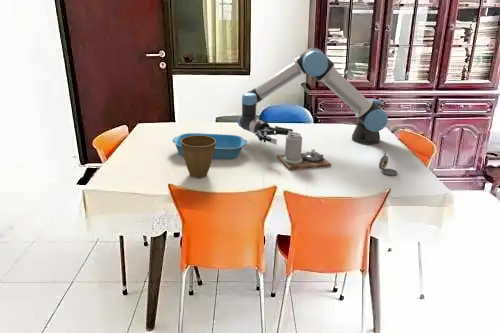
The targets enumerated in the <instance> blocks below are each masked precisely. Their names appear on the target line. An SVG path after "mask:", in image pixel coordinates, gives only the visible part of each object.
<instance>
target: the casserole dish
mask: <svg viewBox="0 0 500 333" xmlns="http://www.w3.org/2000/svg"><path fill="white" fill-rule="evenodd" d="M194 135H203V136H209V137H212V138H214V139H215V140H216V144H215V150H214V155H213V159H212V160H234V159H236V158H238V157H239V155H240V154H241V151H242V148H243V147H244V146H246V145H248V140H247V139H245V138H244V137H242V136H240V135H235V134H221V133H219V134H218V133H201V132H200V133H199V132H198V133H197V132H192V133H191V132H190V133H189V132H188V133H182V134H180V135H178V136H175V137H173V138H172V143H174V145H175V148H176V150H177V153H178V154H179V155H180V156H181V157H183V158H184V156H183V152H182V146H181V139H182V138H184V137H187V136H194Z"/></svg>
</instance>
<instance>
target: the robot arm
mask: <svg viewBox="0 0 500 333" xmlns="http://www.w3.org/2000/svg"><path fill="white" fill-rule="evenodd" d="M306 74H308V75H309V76H311V77H312V78H314V80H315V81H317V82H322V83H323V84H325V86H327V87H328V89H330V90H331V91H332V92H333V93H334V94H335V95H336V96H337V97H338V98H339V99H340V100H341V101H342V102H344V104H346V105H347V106H348V107H349V108H350V109H351V110H352V111H353V112H354V113H355V115H354V116H355V118H356V119H357V120H356V126H355V128H354V129H353V132H352V134H351V140H352V141H353V142H354V143H358V144H362V145H363V144H364V145H375V144H376V145H377V144H379V143H380V141H381V136H380V131H382V130H384V129H385V127H386V126H387V125H388V121H389V120H388V119H389V118H388V114H387V113H386V111H385V110H384V109H383V108H382V105H383V104H382V103H383V102H382V100H381V99H377V98H376V99H375V98H366V97H365V96H364V95H363V94H362V93H361V92H360V91H359V90H358V89H356V87H355V86H354V85H352V84H351V82H349V81H348V79H346V78H345V77H344V76H343V75H342V74H341V73H340V72H339V71H338V70H337V69H336V68H335V63H334V62H333V61H332V60H331V59H330V58H329V57H328V56H327V55H325V53H324V52H323V51H322V50H321V49H319V48H317V47H310V48H309V49H306V50H305V51H304V52H302V53H301V54H300V55H299V56H297V57H295V58H294V61H293V62H291V64H289V65H287V66H286V67H284V68H283V69H281V70H280V71H279V72H277V73H275V74H274V75H272V76H271V77H269V78H268V79H267V80H265V81H264V82H261V84H259V85H258V86H256V87H254V88H253V89H251V90H248V91H247V92H245V93H243V94H242V97H241V115H240V116H239V117H238V119H237V125H238V126H239V127H240V128H241V129H243V130H244V131H248V132H250V133H252V134H254V136H256V137H257V138H258V140H259V141H260V142H262V141H263V143H266V142H268V143H270V144H273V145H274V146H276V145H277V144H278V138H275V137H273V135H274V136H277V135H281V136H288V133H295V132H294V130H293V129H292V128H286V127H281V126H277V125H275V126H274V127H272V126H270V124H269V123H268V122H266V121H263V120H260V119H258V118H257V105H258V103H260V102H261V101H263V100H264V99H266V98H267V97H269V96H271V95H272V94H274V93H276V92H277V91H278V90H280V89H281V88H283V87H284V86H287V84H289V83H291V82H292V81H294V80H295V79H297V78H298V77H301V75H306Z"/></svg>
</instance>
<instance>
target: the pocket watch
mask: <svg viewBox="0 0 500 333" xmlns="http://www.w3.org/2000/svg"><path fill="white" fill-rule="evenodd" d="M388 164H389V157H388V155H387V151H385V152H384V153H383V156H382V157H381V158H380V160H379V165H378V167H379V170H381V173H382V174H384V175H387V176H396V175H397V174H398V171H397V170H396V169H392V168H387V166H388Z"/></svg>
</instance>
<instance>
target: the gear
mask: <svg viewBox="0 0 500 333" xmlns="http://www.w3.org/2000/svg"><path fill="white" fill-rule="evenodd" d="M317 152H318V151H316V150H315V149H314V148H312V149H311V150H310V151H307V152H301V153H302V159H303V160H305V161H307V162H315V163H318V162H319V161H323V158H325V157H324V154H320V153H319V154H318V153H317Z"/></svg>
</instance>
